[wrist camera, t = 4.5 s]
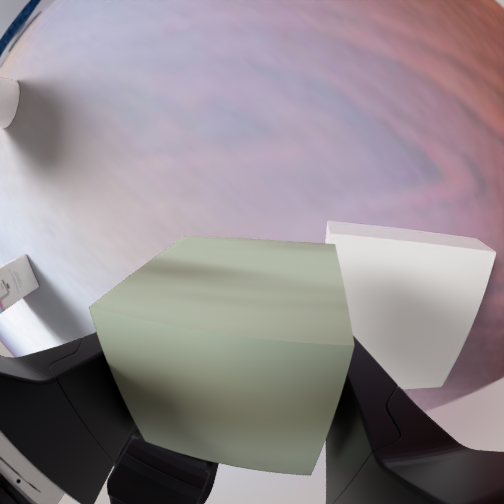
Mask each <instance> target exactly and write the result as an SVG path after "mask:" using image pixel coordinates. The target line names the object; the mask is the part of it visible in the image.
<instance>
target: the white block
mask: <svg viewBox="0 0 504 504" xmlns="http://www.w3.org/2000/svg"><path fill="white" fill-rule="evenodd" d="M325 243H327V244H335V246H336V251H337V255H338V259H339V264H340V269H341V273H342V278H343V283H344V288H345V293H346V298H347V304H348V309H349V315H350V321H351V326H352V333H353V335H354V337H355V338H356V339H357V340H358V341H359V342H360V343H361V344H362V345H363V346H364V348H365V349H366V350H367V351H368V352H369V353H370V354H371V355H372V356H373V357H374V359H375V360H376V361H377V362H378V363H379V364H380V365H381V366H382V368H383V369H384V370H385V371H386V372H387V373H388V374H389V375H390V376H391V378H392V379H393V380H394V381H395V382H396V383H397V384H398V386H399V387H400V388H401V389H418V388H433V387H442V386H443V384H444V382H445V380H446V378H447V377H448V375H449V373H450V371H451V369H452V367H453V365H454V364H455V362H456V360H457V358H458V356H459V354H460V351H461V349H462V347H463V345H464V343H465V341H466V339H467V336H468V334H469V332H470V329H471V327H472V325H473V322H474V320H475V317H476V315H477V312H478V309H479V307H480V304H481V301H482V298H483V296H484V293H485V290H486V287H487V283H488V280H489V277H490V274H491V270H492V267H493V263H494V259H495V255H496V252H495V251H494V250H492V249H491V248H489V247H488V246H487V245H485V244H484V243H482V242H481V241H479V240H478V239H476V238H469V237H463V236H456V235H449V234H442V233H434V232H427V231H419V230H411V229H402V228H394V227H385V226H376V225H367V224H357V223H347V222H336V221H327V229H326V240H325Z"/></svg>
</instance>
